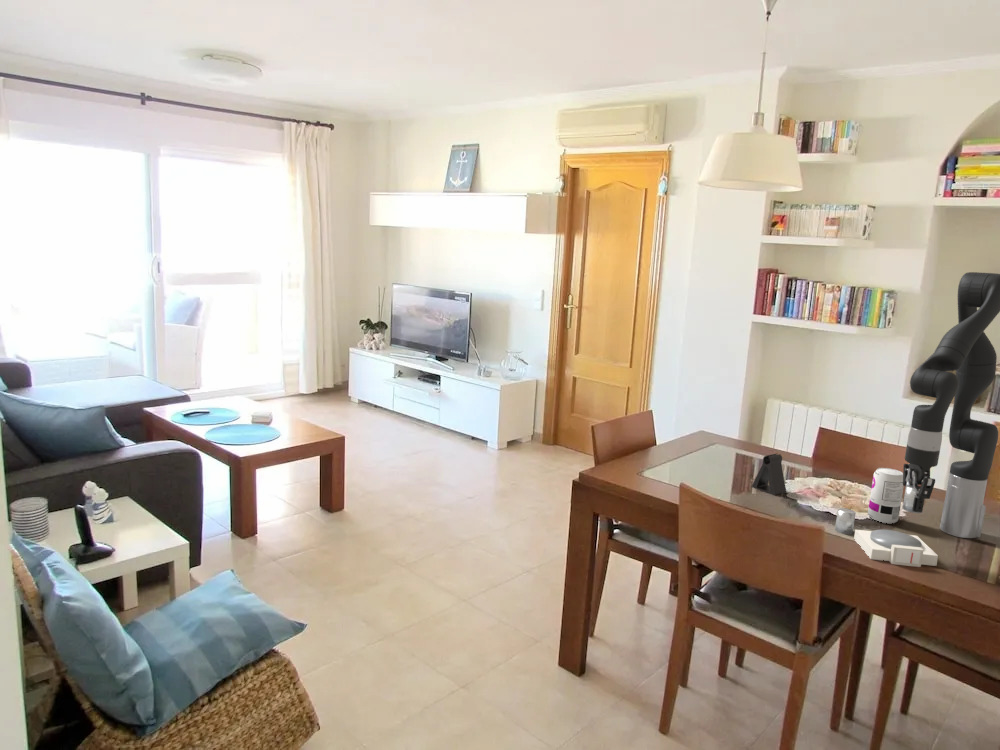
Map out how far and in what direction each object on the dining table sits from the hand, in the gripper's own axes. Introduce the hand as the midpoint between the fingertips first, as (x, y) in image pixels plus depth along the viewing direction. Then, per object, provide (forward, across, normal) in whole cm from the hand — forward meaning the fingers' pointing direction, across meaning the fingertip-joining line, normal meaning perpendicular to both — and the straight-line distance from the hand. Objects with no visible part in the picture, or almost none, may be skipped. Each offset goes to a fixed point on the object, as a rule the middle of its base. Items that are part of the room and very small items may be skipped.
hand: (912, 507), depth 191 cm
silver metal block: (+1, 0, 0) cm, 1 cm away
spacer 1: (+13, +12, +12) cm, 21 cm away
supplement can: (+13, +25, -3) cm, 28 cm away
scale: (+13, -1, +3) cm, 13 cm away
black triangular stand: (+13, +43, +26) cm, 52 cm away
